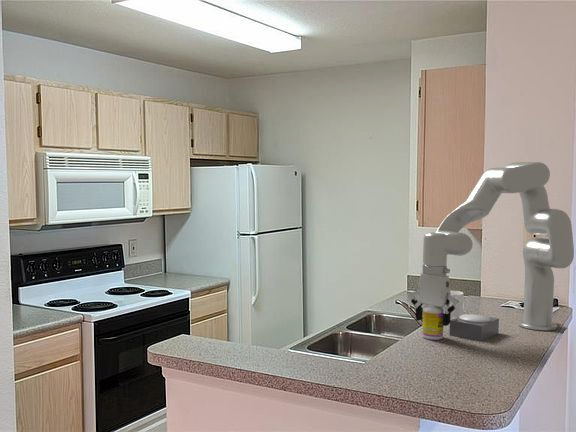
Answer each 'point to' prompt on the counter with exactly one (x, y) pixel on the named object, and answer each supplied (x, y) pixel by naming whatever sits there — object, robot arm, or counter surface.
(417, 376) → the counter surface
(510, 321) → the counter surface
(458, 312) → the mug
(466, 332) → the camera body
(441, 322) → the supplement bottle
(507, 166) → the robot arm
